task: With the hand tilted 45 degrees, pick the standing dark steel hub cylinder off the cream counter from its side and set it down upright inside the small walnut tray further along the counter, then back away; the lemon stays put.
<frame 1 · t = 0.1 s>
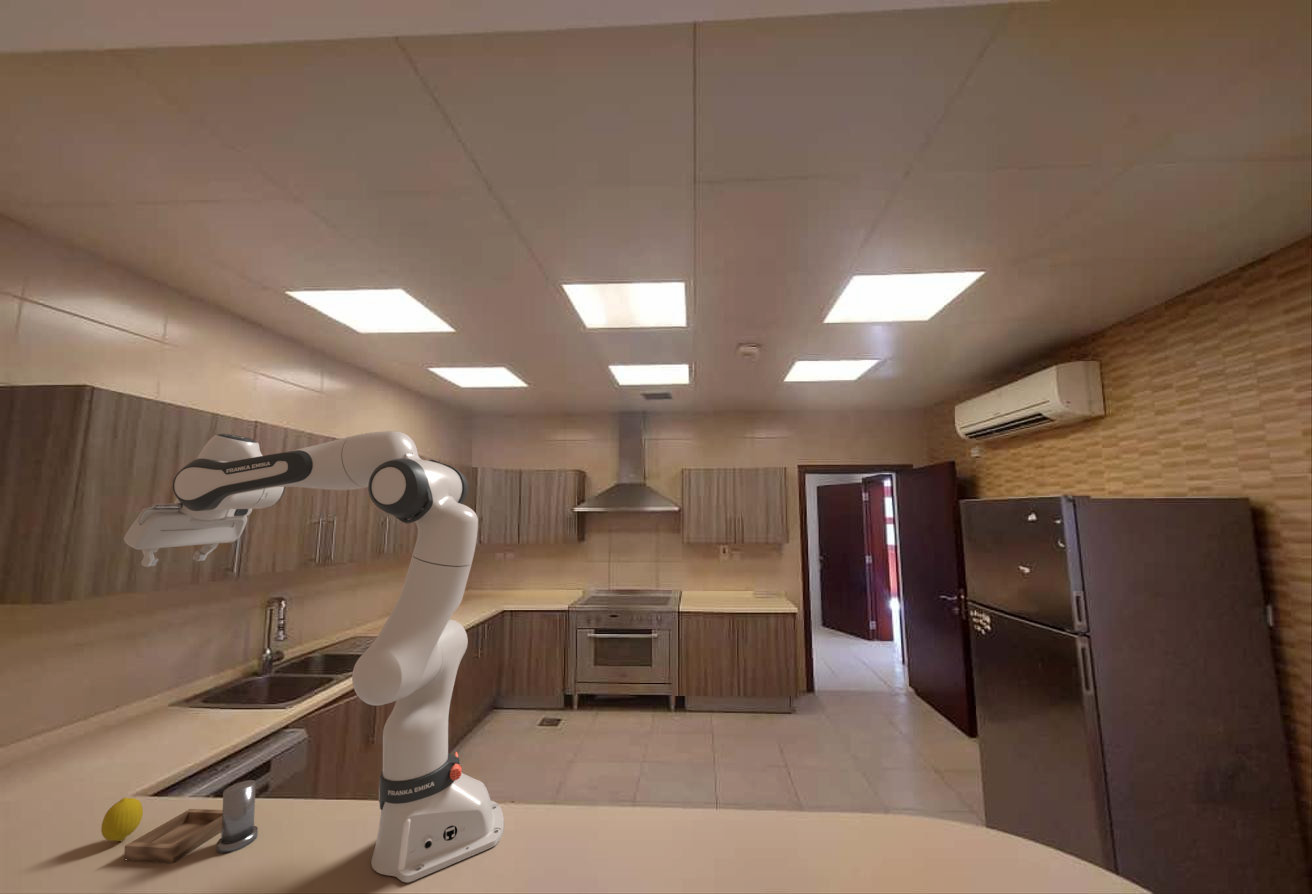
hand: (173, 562, 101), 54 cm above the counter, tool tilted 30°, fingers open, 8 cm apart
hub: (237, 842, 92), on the counter
tray: (181, 841, 94), on the counter
lemon: (120, 842, 95), on the counter
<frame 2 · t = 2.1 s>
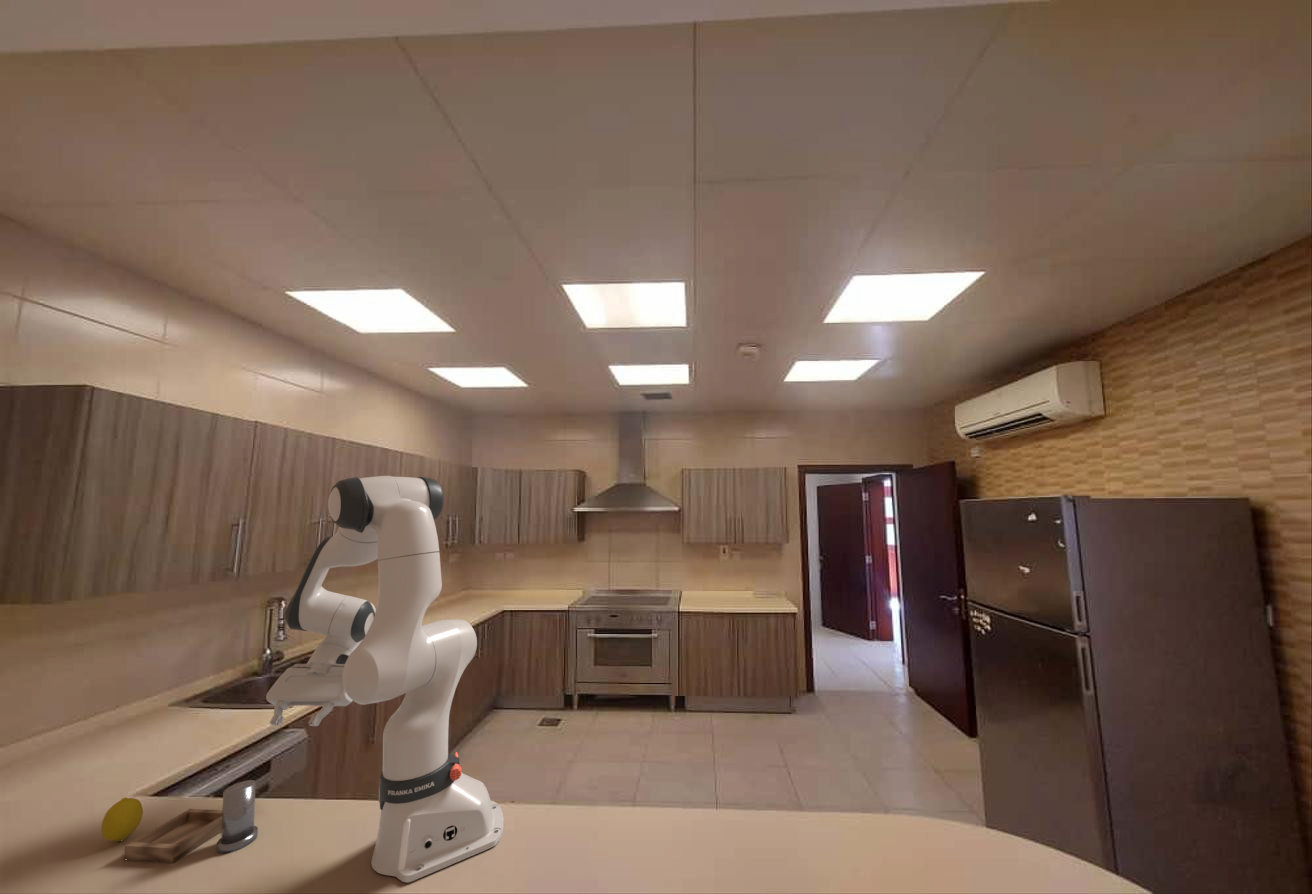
hand: (293, 725, 106), 16 cm above the counter, tool tilted 45°, fingers open, 8 cm apart
nothing on the counter moved.
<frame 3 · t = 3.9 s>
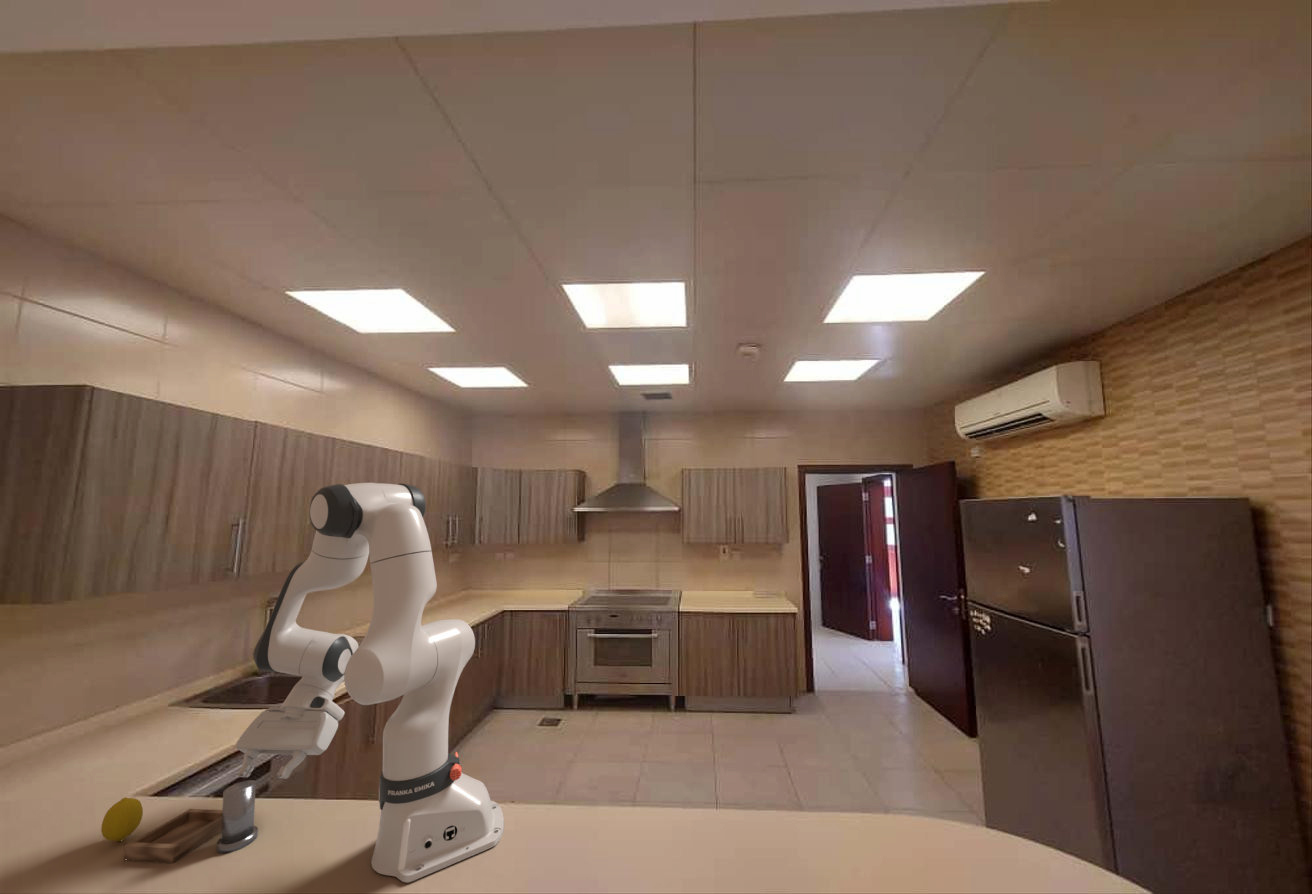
hand: (261, 777, 98), 9 cm above the counter, tool tilted 45°, fingers open, 8 cm apart
nothing on the counter moved.
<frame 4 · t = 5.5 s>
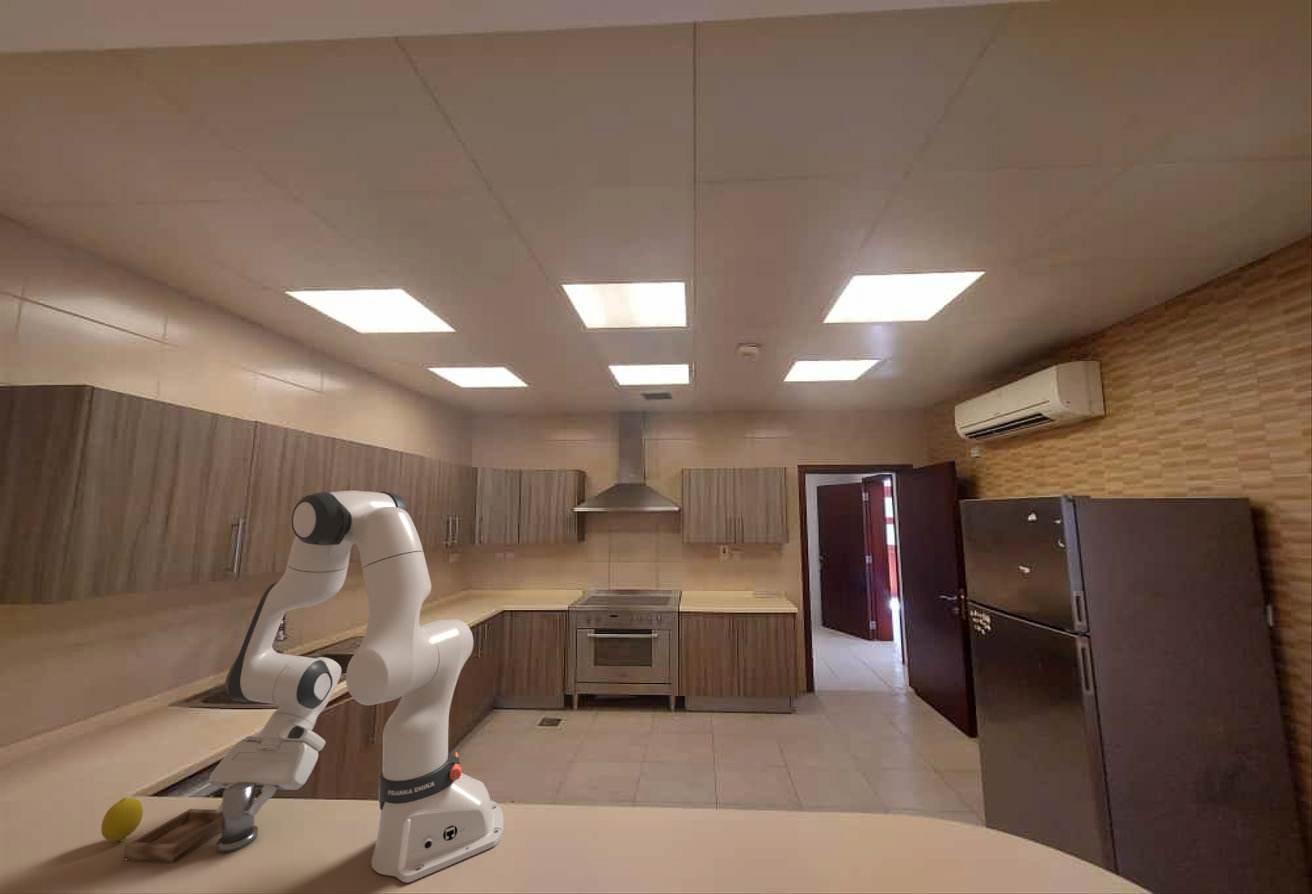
hand: (235, 814, 92), 5 cm above the counter, tool tilted 45°, fingers closed on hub, 5 cm apart
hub: (237, 842, 92), on the counter, touching gripper
everything else where it was.
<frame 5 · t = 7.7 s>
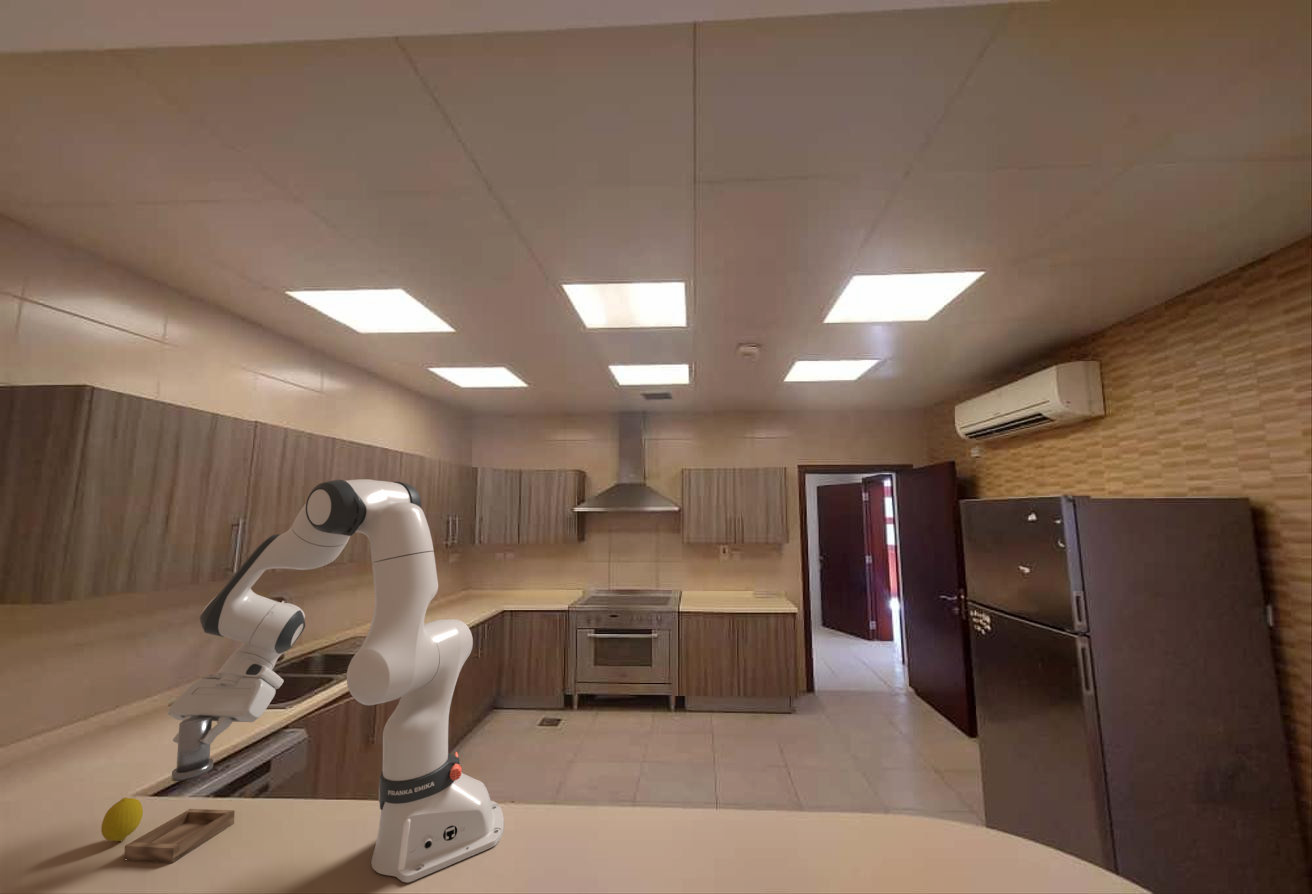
hand: (190, 743, 96), 18 cm above the counter, tool tilted 45°, fingers closed on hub, 5 cm apart
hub: (192, 772, 95), point 12 cm above the counter, touching gripper
everything else where it was.
when the fingers open (8 cm above the counter, at t = 10.1 s): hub stays where it is, resting on tray.
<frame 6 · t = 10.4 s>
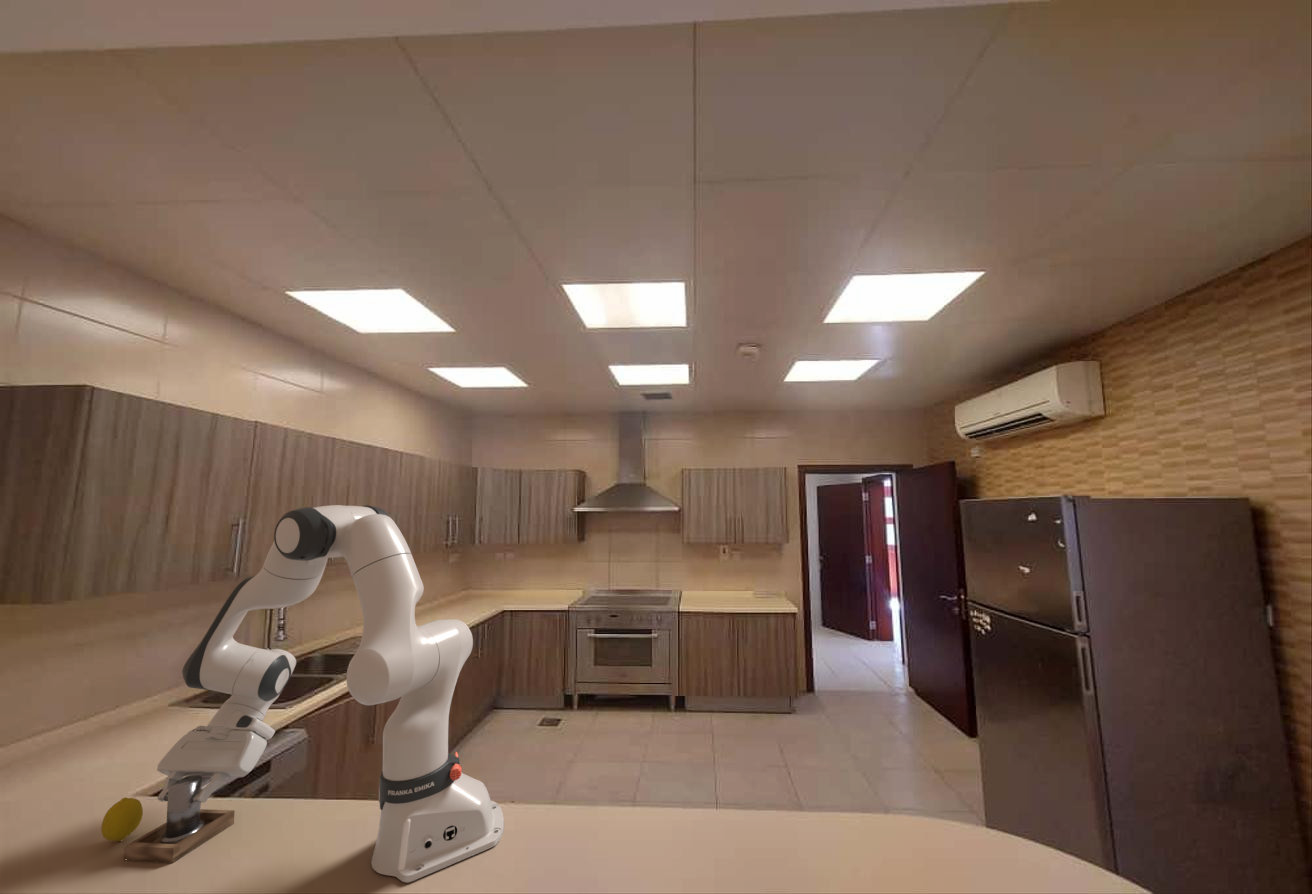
hand: (180, 801, 94), 8 cm above the counter, tool tilted 45°, fingers open, 7 cm apart
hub: (182, 836, 94), point 1 cm above the counter, touching tray
everything else where it was.
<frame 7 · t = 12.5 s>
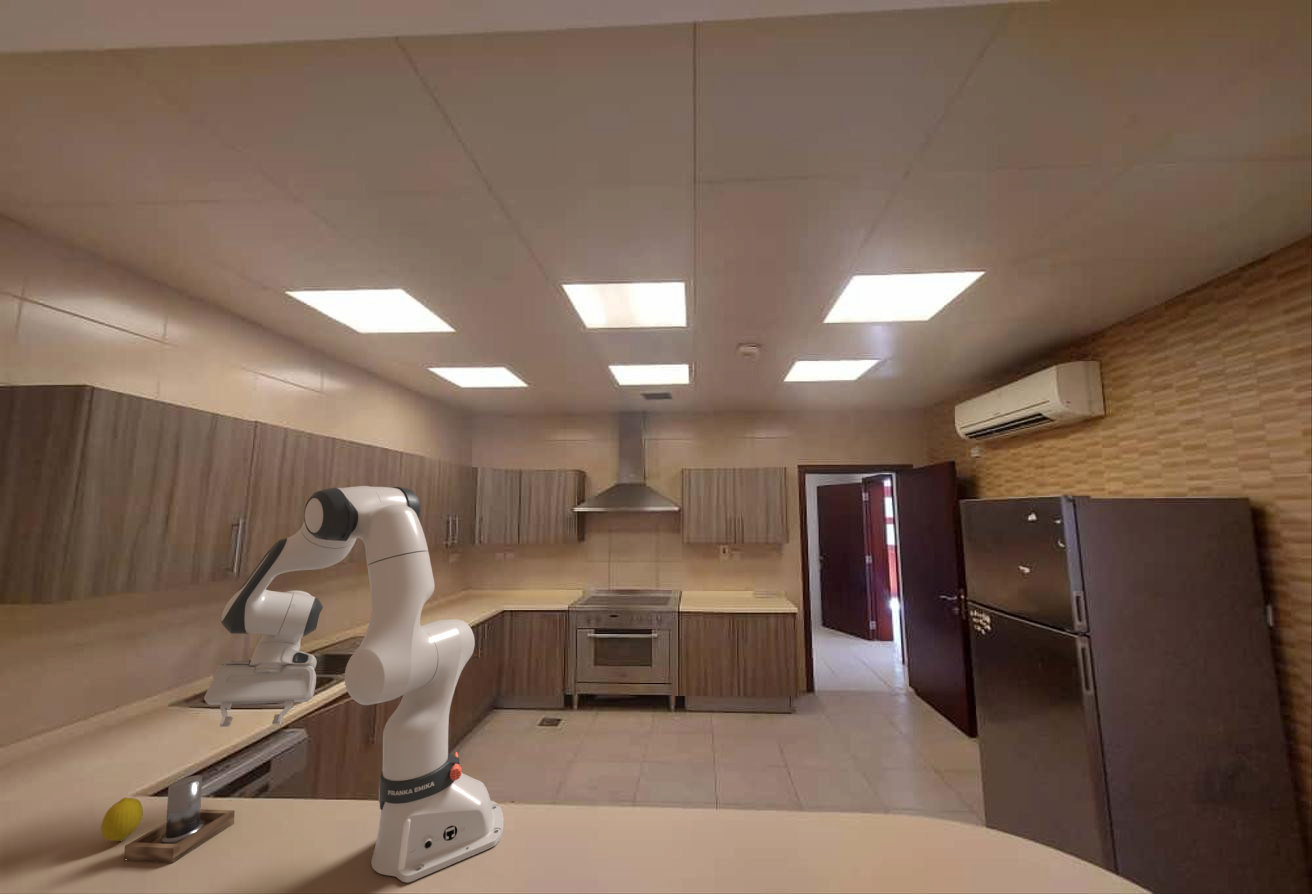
hand: (250, 725, 107), 17 cm above the counter, tool tilted 30°, fingers open, 8 cm apart
nothing on the counter moved.
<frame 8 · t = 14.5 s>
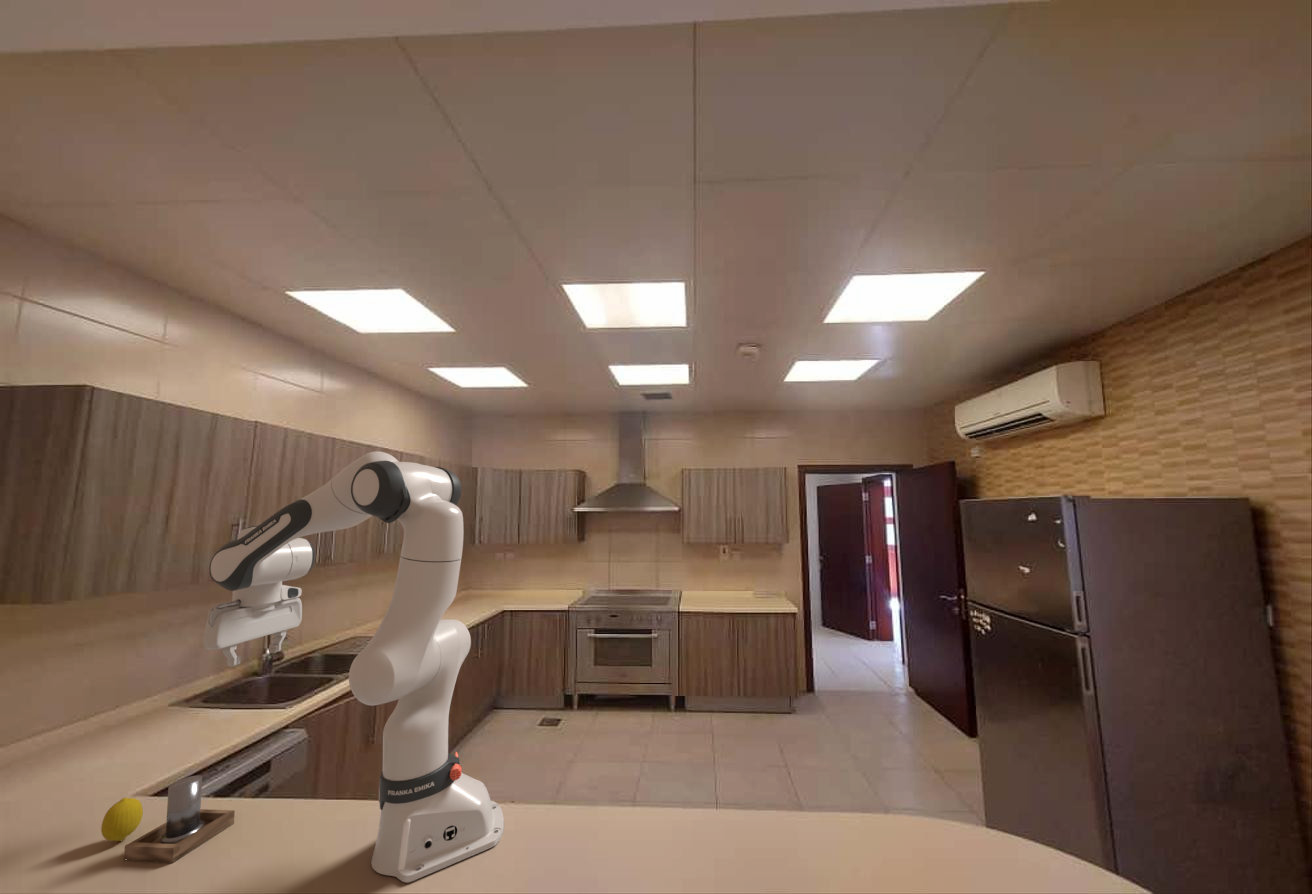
hand: (255, 658, 108), 31 cm above the counter, tool pointing down, fingers open, 8 cm apart
nothing on the counter moved.
at the end: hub inside the target area on the tray (0.1 cm from its centre), point 0.8 cm above the tray's base; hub tilted 0°; the gripper is holding nothing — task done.
